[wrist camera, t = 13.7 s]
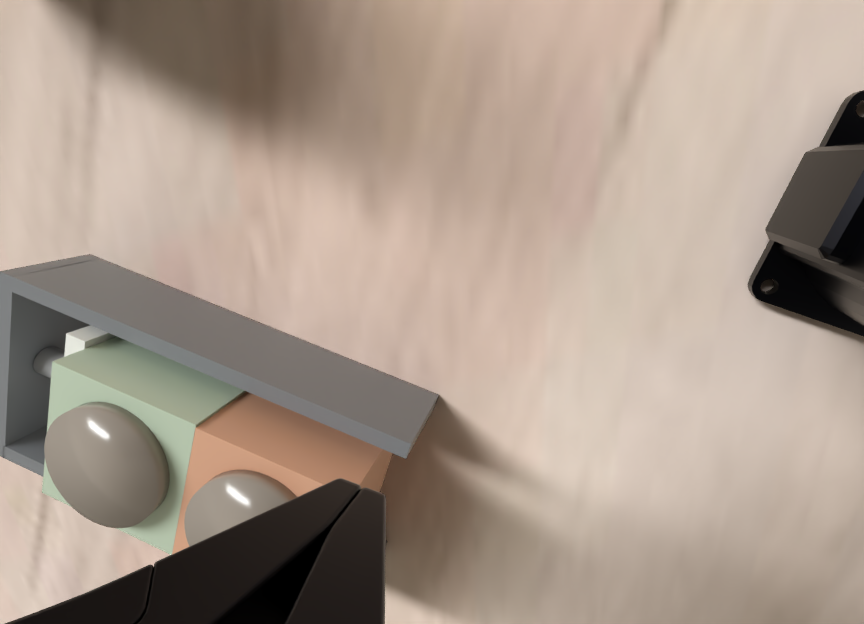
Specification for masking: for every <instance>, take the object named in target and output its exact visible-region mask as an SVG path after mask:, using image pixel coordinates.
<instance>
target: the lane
mask: <svg viewBox="0 0 864 624" xmlns="http://www.w3.org/2000/svg"><path fill="white" fill-rule="evenodd" d="M90 325H91V326H94V327H96V328H98V329H101V330H103V331H105V332H108V333H110V334H112V335H115V336H117V337H119V338H122V339H124V340H127V341H129V342H131V343H134V344H136V345H138V346H141V347H143V348H145V349H148V350H150V351H152V352H155V353H157V354H160V355H162V356H164V357H167V358H169V359H171V360H174V361H176V362H178V363H181V364H183V365H185V366H188V367H190V368H193V369H195V370H197V371H200V372H202V373H204V374H207V375H209V376H211V377H214V378H216V379H218V380H221V381H223V382H226V383H228V384H230V385H233V386H235V387H237V388H240V389H242V390H244V391H247V392H249V393H251V394H254V395H256V396H259V397H261V398H263V399H266V400H268V401H270V402H273V403H275V404H277V405H280V406H282V407H284V408H287V409H289V410H292V411H294V412H296V413H299V414H301V415H303V416H306V417H308V418H310V419H313V420H315V421H317V422H320V423H322V424H325V425H327V426H329V427H332V428H334V429H336V430H339V431H341V432H343V433H346V434H348V435H350V436H353V437H355V438H358V439H360V440H362V441H365V442H367V443H369V444H372V445H374V446H376V447H379V448H381V449H383V450H386V451H388V452H391V453H393V454H395V455H398V456H400V457H402V458H405V459H406V458H407V456H408V455H409V453H410V451H411V449H412V447H413V446H414V444H415V442H416V440H417V438H418V436H419V435H420V433H421V431H422V429H423V427H424V425H425V424H426V422H427V420H428V418H429V416H430V415H431V413H432V411H433V409H434V407H435V404H436V401H437V398H438V396H439V395H438V394H435V393H433V392H430V391H428V390H425V389H423V388H420V387H418V386H415V385H413V384H411V383H408V382H406V381H403V380H401V379H398V378H396V377H393V376H391V375H388V374H386V373H383V372H381V371H378V370H376V369H373V368H371V367H368V366H366V365H363V364H361V363H358V362H356V361H353V360H351V359H348V358H346V357H344V356H341V355H339V354H336V353H334V352H331V351H329V350H326V349H324V348H321V347H319V346H316V345H314V344H311V343H309V342H306V341H304V340H301V339H299V338H296V337H294V336H291V335H289V334H286V333H284V332H281V331H279V330H276V329H274V328H272V327H269V326H267V325H264V324H262V323H259V322H257V321H254V320H252V319H249V318H247V317H244V316H242V315H239V314H237V313H234V312H232V311H229V310H227V309H224V308H222V307H219V306H217V305H214V304H212V303H209V302H207V301H205V300H202V299H200V298H197V297H195V296H192V295H190V294H187V293H185V292H182V291H180V290H177V289H175V288H172V287H170V286H167V285H165V284H162V283H160V282H157V281H155V280H152V279H150V278H147V277H145V276H142V275H140V274H137V273H135V272H133V271H130V270H128V269H125V268H123V267H120V266H118V265H115V264H113V263H110V262H108V261H105V260H103V259H100V258H98V257H95V256H93V255H90V254H88V255H83V256H78V257H73V258H67V259H62V260H57V261H52V262H47V263H41V264H36V265H31V266H26V267H20V268H15V269H10V270H5V271H0V456H1V457H3V458H5V459H7V460H9V461H11V462H14V463H16V464H18V465H20V466H22V467H24V468H26V469H28V470H30V471H32V472H34V473H37V474H39V475H41V476H43V475H44V462H45V454H44V444H45V437H46V434H47V423H48V410H49V398H50V385H51V378H48V377H46V376H44V375H42V374H39V373H37V372H36V371H35V370H34V367H33V364H34V360H35V358H36V356H37V355H38V354H39V353H40V352H41V351H42V350H43V349H45V348H47V347H56V348H58V349H61V350H63V351H65V342H66V333H69V332H72V331H75V330H78V329H81V328H84V327H87V326H90ZM386 544H387V540H386Z"/></svg>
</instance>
